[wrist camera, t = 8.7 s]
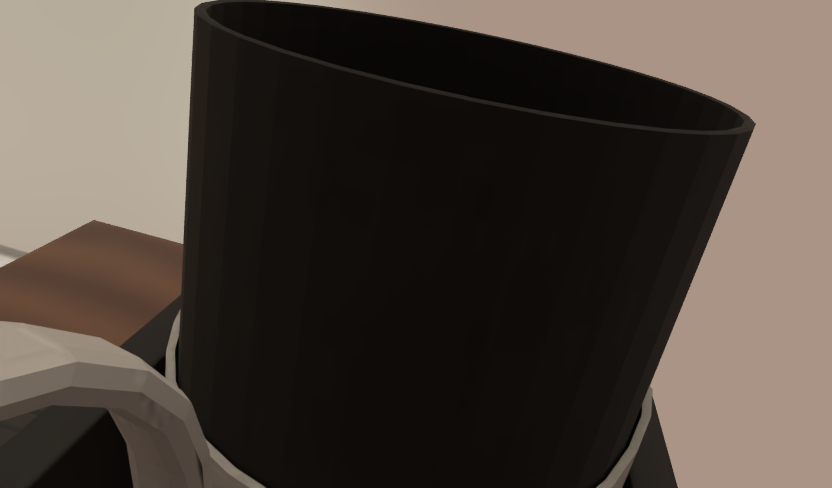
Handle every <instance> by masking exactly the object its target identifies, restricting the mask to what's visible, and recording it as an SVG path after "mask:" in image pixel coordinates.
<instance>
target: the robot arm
mask: <svg viewBox="0 0 832 488" xmlns="http://www.w3.org/2000/svg"><path fill="white" fill-rule="evenodd" d="M180 307H181V295H180V296H178V297H177V298H176V299H175V300H174V301H173V302H171V303H170V304H169V305H168V306H167V307H166V308H164V309H163V310H162V311H161V312H160V313H158V314H157V315H156V316H155V317H154V318H153V319H151V320H150V321H149V322H148V323H147V324H145V325H144V326H143V327H142V328H141V329H140V330H138V331H137V332H136V333H135V334H134V335H132V336H131V337H130V338H129V339H128V340H127V341H125V342H124V343H123V344H122V345H121V346H119V347H120V348H122V349H124V350H125V351H127V352H129V353H131V354H133V355H135V356H137V357H139V358H140V359H142V360H143V361H144V362H146V363H147V364H148V365H149V366H151V367H152V368H153V369H155V370H156V371H157V372H159V373H160V374H161V375H162V376H164V377H165V368H166V350H167V346H168V342H169V338H170V334H171V331H172V327H173V323H174V321H175V319H176V317H177V315H178V313H179V311H180ZM0 488H134V487H133V481H132V475H131V469H130V463H129V456H128V450H127V444H126V442H125V440H124V438H123V436H122V434H121V433H120V431H119V429H118V427H117V425H116V423H115V422H114V420H113V418H112V416H111V414H110V412H109V411H108V410H107V409H105V408H101V407H80V406H60V405H51V406H47V407H44V408H41V409H38V410H35V411H31V412H28V413H25V414H22V415H19V416H16V417H12V418H9V419H6V420H3V421H0ZM622 488H678V487H677V483H676V480H675V476H674V473H673V469H672V465H671V462H670V458H669V454H668V451H667V447H666V444H665V440H664V436H663V432H662V429H661V425H660V422H659V418H658V414H657V411H656V407H655V404H654V400H653V396H652V410H651V418H650V420H649V423H648V426H647V428H646V431H645V433H644V436H643V438H642V441H641V443H640V446H639V449H638V451H637V454H636V456H635V458H634V461H633V463H632V466H631V468H630V470H629V473H628V475H627V478H626V480H625V482H624V485H623V487H622Z"/></svg>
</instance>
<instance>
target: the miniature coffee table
mask: <svg viewBox="0 0 832 488" xmlns="http://www.w3.org/2000/svg"><path fill="white" fill-rule="evenodd" d="M182 264H183V244H181V243H177V242H173V241H169V240H166V239H162V238H158V237H154V236H150V235H147V234H143V233H140V232H136V231H132V230H129V229H125V228H121V227H118V226H113V225H110V224H106V223H102V222H99V221H95V220H93V221H91V222H89V223H87V224H85V225H83V226H81V227H79V228H77V229H75V230H73V231H71V232H69V233H68V234H66V235H64V236H62V237H60V238H58V239H56V240H54V241H52V242H50V243H48V244H46V245H44V246H42V247H40V248H38V249H36V250H34V251H32V252H30V253H28V254H26V255H24V256H22V257H20V258H19V259H17V260H15V261H13V262H11V263H9V264H7V265H5V266H3V267H1V268H0V321H6V322H17V323H25V324H31V325H36V326H41V327H46V328H52V329H57V330H62V331H68V332H73V333H78V334H84V335H89V336H94V337H100V338H102V339H104V340H106V341H108V342H110V343H112V344H114V345H116V346H118V347H119V346H121V345H122V344H123V343H124V342H125V341H127V340H128V339H129V338H130V337H131V336H132V335H134V334H135V333H136V332H137V331H138V330H140V329H141V328H142V327H143V326H144V325H145V324H147V323H148V322H149V321H150V320H151V319H153V318H154V317H155V316H156V315H157V314H158V313H160V312H161V311H162V310H163V309H164V308H166V307H167V306H168V305H169V304H170V303H171V302H173V301H174V300H175V299H176V298H177V297H178V296H180V295H181V285H182Z"/></svg>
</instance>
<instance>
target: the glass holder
mask: <svg viewBox="0 0 832 488" xmlns="http://www.w3.org/2000/svg"><path fill="white" fill-rule="evenodd" d="M755 125H756V124H755V123H754V122H753V120H752V119H751V118H750V117H749V116H747V115H746V114H744V113H742V112H741V111H739V110H737V109H736V108H734V107H732V106H731V105H728V104H726V103H724V102H722V101H719V100H717V99H715V98H713V97H710V96H707V95H705V94H702V93H700V92H697V91H694V90H692V89H689V88H686V87H683V86H680V85H677V84H674V83H671V82H668V81H665V80H662V79H659V78H656V77H652V76H649V75H646V74H643V73H639V72H636V71H633V70H629V69H626V68H622V67H618V66H615V65H611V64H608V63H604V62H600V61H596V60H592V59H589V58H585V57H581V56H577V55H573V54H569V53H565V52H561V51H557V50H553V49H549V48H544V47H541V46H536V45H532V44H528V43H523V42H519V41H514V40H510V39H506V38H501V37H496V36H491V35H487V34H482V33H477V32H473V31H468V30H463V29H458V28H453V27H448V26H442V25H437V24H432V23H426V22H421V21H416V20H410V19H404V18H398V17H392V16H386V15H380V14H374V13H368V12H361V11H354V10H348V9H340V8H333V7H326V6H318V5H308V4H300V3H291V2H279V1H266V0H217V1H211V2H205V3H201V4H200V5H198V6H197V7H195V8H194V31H193V51H192V72H191V94H190V115H189V137H188V160H187V179H186V201H185V221H184V243H183V264H182V285H181V307H180V311H179V313H178V315H177V317H176V319H175V321H174V323H173V327H172V331H171V334H170V338H169V342H168V346H167V350H166V368H165V377H164V376H162V375H161V374H160V373H159V372H157V371H156V370H155V369H153V368H152V367H151V366H149V365H148V364H147V363H146V362H144V361H143V360H142V359H140V358H139V357H137V356H135V355H133V354H131V353H129V352H127V351H125V350H124V349H122V348H120V347H118V346H116V345H114V344H112V343H110V342H108V341H106V340H104V339H102V338H100V337H94V336H89V335H84V334H78V333H73V332H68V331H62V330H57V329H52V328H46V327H41V326H36V325H31V324H25V323H17V322H6V321H0V421H3V420H6V419H9V418H12V417H16V416H19V415H22V414H25V413H28V412H31V411H35V410H38V409H41V408H44V407H47V406H51V405H60V406H80V407H101V408H105V409H107V410H108V411H109V412H110V414H111V416H112V418H113V420H114V422H115V423H116V425H117V427H118V429H119V431H120V433H121V434H122V436H123V438H124V440H125V442H126V444H127V450H128V456H129V463H130V469H131V475H132V481H133V487H134V488H622V487H623V485H624V482H625V480H626V478H627V475H628V473H629V470H630V468H631V466H632V463H633V461H634V458H635V456H636V454H637V451H638V449H639V446H640V443H641V441H642V438H643V436H644V433H645V431H646V428H647V426H648V423H649V420H650V418H651V410H652V388H651V387H650V384H651V381H652V378H653V376H654V374H655V371H656V369H657V366H658V364H659V361H660V359H661V356H662V354H663V352H664V349H665V347H666V344H667V342H668V339H669V337H670V334H671V332H672V329H673V327H674V324H675V322H676V319H677V317H678V314H679V312H680V310H681V307H682V305H683V302H684V300H685V297H686V295H687V292H688V290H689V287H690V284H691V282H692V280H693V278H694V275H695V273H696V270H697V268H698V265H699V263H700V260H701V257H702V255H703V253H704V250H705V248H706V245H707V243H708V240H709V238H710V236H711V233H712V231H713V228H714V226H715V223H716V221H717V218H718V216H719V213H720V211H721V208H722V206H723V203H724V201H725V199H726V196H727V194H728V191H729V189H730V186H731V184H732V181H733V179H734V176H735V174H736V171H737V169H738V166H739V164H740V161H741V159H742V157H743V154H744V152H745V149H746V147H747V144H748V142H749V139H750V137H751V134H752V132H753V129H754V127H755Z"/></svg>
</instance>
